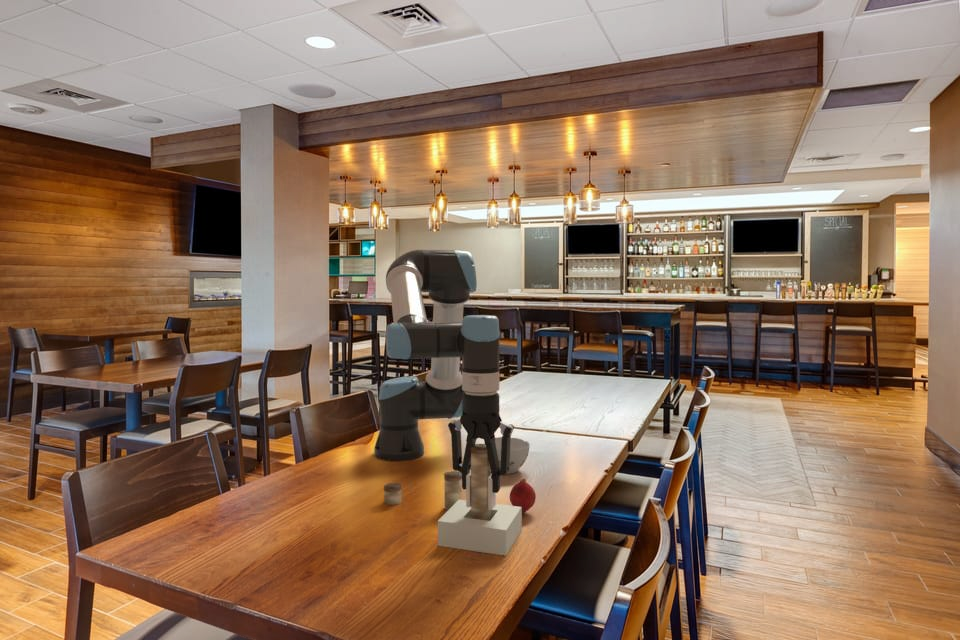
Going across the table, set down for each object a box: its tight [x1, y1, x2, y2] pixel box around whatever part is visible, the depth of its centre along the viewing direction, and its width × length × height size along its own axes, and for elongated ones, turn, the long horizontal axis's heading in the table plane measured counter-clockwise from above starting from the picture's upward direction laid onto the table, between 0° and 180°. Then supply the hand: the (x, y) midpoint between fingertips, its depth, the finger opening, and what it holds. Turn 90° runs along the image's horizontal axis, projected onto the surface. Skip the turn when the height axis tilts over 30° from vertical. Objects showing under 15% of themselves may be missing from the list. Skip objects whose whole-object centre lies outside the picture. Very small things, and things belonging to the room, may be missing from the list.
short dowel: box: [383, 482, 402, 506], centre depth 135 cm, size 4×4×4 cm
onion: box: [509, 477, 537, 514], centre depth 128 cm, size 6×6×8 cm
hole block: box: [437, 499, 523, 557], centre depth 115 cm, size 14×12×5 cm
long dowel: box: [470, 443, 491, 521], centre depth 115 cm, size 4×4×16 cm
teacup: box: [495, 436, 530, 475], centre depth 159 cm, size 15×12×8 cm
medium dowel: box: [443, 470, 463, 512], centre depth 131 cm, size 4×4×8 cm
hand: (480, 505), depth 115 cm, fingers closed on long dowel, 4 cm apart
